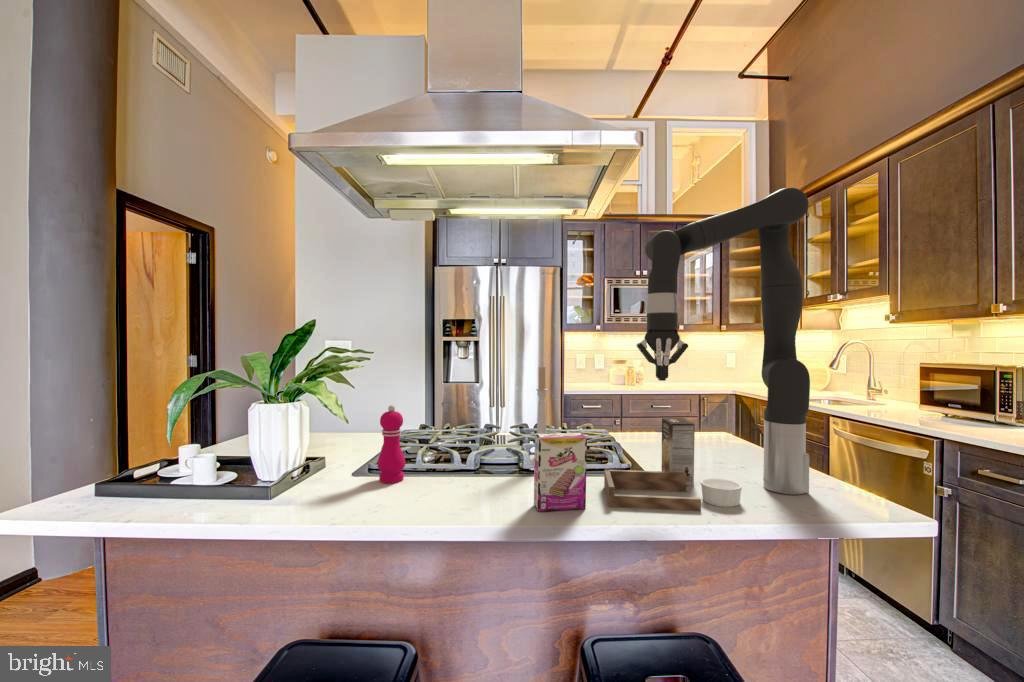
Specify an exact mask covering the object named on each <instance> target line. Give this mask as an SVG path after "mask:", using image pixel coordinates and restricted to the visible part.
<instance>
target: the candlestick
mask: <svg viewBox="0 0 1024 682" xmlns="http://www.w3.org/2000/svg"><path fill="white" fill-rule="evenodd" d="M548 390H549V389H548V388H546V366H538V388H536V391H537V396H538V398H539V399H538V405H537V409H538V410H537V424H536V427H537V428H536V434H548V433H547V432H548V431H547V412H546V411H547V409H546V401H545V398H546V396H547V391H548ZM529 457H530V460H531V464H532V465H533V466H534V461H535V455H534V456H529ZM521 466H522V463H521V462H520V464H519V467H520V468H521Z"/></svg>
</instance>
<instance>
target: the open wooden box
mask: <svg viewBox="0 0 1024 682" xmlns="http://www.w3.org/2000/svg"><path fill="white" fill-rule="evenodd" d="M603 471H604V472H603V473H604V475H603V478H604V479H603V480H604V481H603V485H604V486H603V488H604V491H605V496H606V501H607V504H608V507H609V508H610V507H611V508H631V509H632V508H633V509H650V510H651V509H655V510H672V511H673V510H674V511H702V499H701V498H700V497H695V496H694V497H693V496H690V497H689V496H671V495H670V496H668V495H667V496H666V495H665V496H664V495H644V494H643V495H641V494H617V493H615V490H634V491H635V490H636V491H638V490H639V491H660V492H661V491H663V492H687V485H686V476H687V474H686V472H664V471H662V470H661V471H660V470H659V471H658V470H657V471H656V470H635V469H634V470H632V469H631V470H630V469H627V470H626V469H604V470H603Z"/></svg>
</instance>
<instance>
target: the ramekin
mask: <svg viewBox="0 0 1024 682" xmlns="http://www.w3.org/2000/svg"><path fill="white" fill-rule="evenodd" d="M700 485H701V493H702V494H701V495H702V500H703V501H704V502H705V503H707V504H708V505H711V506H715V507H716V506H717V507H721V508H734V507H736V506H739V505H740V503H741V494H742V489H743V485H742V484H741V483H739V482H736V481H733V480H729V479H726V478H725V479H724V478H712V477H711V478H703V479H702V480H701V481H700Z"/></svg>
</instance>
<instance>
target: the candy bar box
mask: <svg viewBox="0 0 1024 682" xmlns="http://www.w3.org/2000/svg"><path fill="white" fill-rule="evenodd" d="M587 448H588V437H587V436H586V435H584V434H583V433H581V432H562V433H560V432H559V433H557V432H556V433H554V432H553V433H552V432H551V433H547V434H537V433H535V434H534V456H535V461H534V472H533V473H534V476H533V505H534V506H535V508H536V511H538V512H552V511H556V512H557V511H570V510H571V511H572V510H573V511H574V510H586V506H587V505H586V503H587V499H586V498H587V459H588V458H587V455H588V454H587V452H588V449H587Z"/></svg>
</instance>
